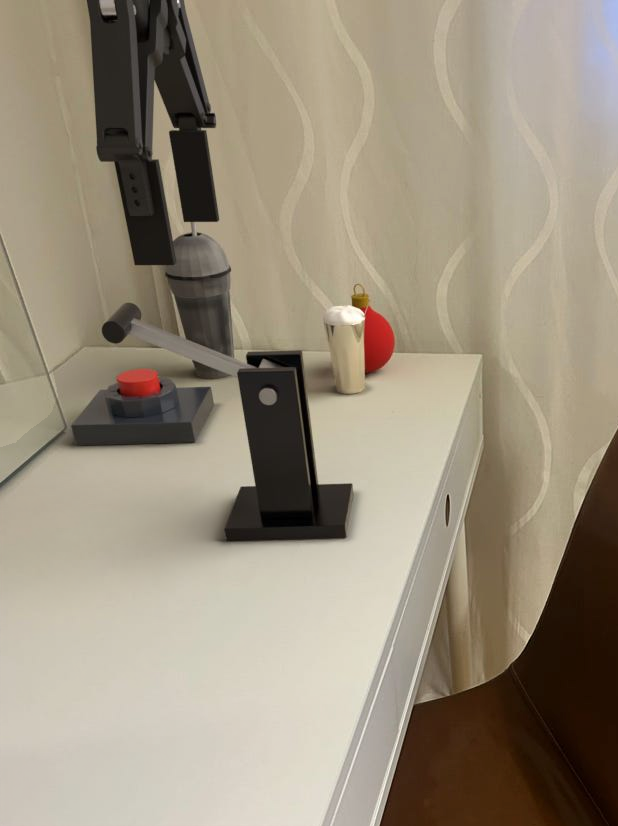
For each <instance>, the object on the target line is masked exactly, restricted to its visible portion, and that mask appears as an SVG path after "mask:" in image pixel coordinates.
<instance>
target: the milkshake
mask: <svg viewBox="0 0 618 826" xmlns="http://www.w3.org/2000/svg"><path fill="white" fill-rule="evenodd" d="M370 303H371V299H370V298H369V302H368V305H367V308H366V311H365V314H364V313H363V312H362V311H361V310H360V309H358V308H356V307H353V306H352V305H350V304H347V305H334V306H331V307H329V308H328V309H327V310H326V311H325V312H324V314H323V316H322V321H323V327H324V332H325V336H326V341H327V345H328V349H329V352H330V354H329V355H330V360H331V365H332V370H333V376H334V382H335V387H336V391H337V392H338V393H341V394H345V395H346V394H348V395H353V394H358V393H361V392H363V391H364V390H365V389H366V375H365V374H366V373H365V358H364V344H365V315H366V312H367V309H368V306H370Z"/></svg>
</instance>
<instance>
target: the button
mask: <svg viewBox="0 0 618 826" xmlns="http://www.w3.org/2000/svg"><path fill="white" fill-rule="evenodd" d="M158 377H159V374H158V372H157V371H156V370H154V369H149V368H138V369H137V368H136V369H131V370H126V371H124V372H122V373H119V374H118V375H117V377H116V381H117V383H118V386H119V390H120V394H121V395H123V396H128V397H135V396H144V395H149V394H153V393H155V392H158V391H160V390H161V388H160V383H159V379H158Z"/></svg>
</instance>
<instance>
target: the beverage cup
mask: <svg viewBox="0 0 618 826" xmlns="http://www.w3.org/2000/svg"><path fill="white" fill-rule="evenodd" d="M190 229H191V231H189V232H185V233H182V234H180V235H179V236H177V237H176V238H174V239H173V244H174V250H175V256H176V261H177V263H176V264H175V265H164V267H165V268H164V269H165V272H164V277H166V278H167V282H168V286H169V289H170V291H171V293H172V294H173V297H174V300H175V305H176V308H177V311H178V315H179V319H180V322H181V326H182V329H183V333H184V337H185V339H187V340H189V341H192V342H194V343H197V344H199V345H202V346H204V347H207V348H209V349H212V350H214V351H217V352H219V353H222V354H224V355H227V356H229V357H232V358H234V359H235V348H234V347H235V345H234V334H233V331H234V330H233V321H232V319H233V318H232V305H231V292H230V290H231V272H232V268H231V265H230V264H229V263H230V262H229V259H228V257H227V254H226V252H225V250H224V248H223V247H222V246H221V244H219V242H218V241H216V240H215V239H214V237H213V238H212V237H211V236H210V235H208V234H206V233H203V232H199V231H197V226H196V222H190ZM191 362H192V363H193V367H194V369H195V374H196V376H197V377H199V378H202V379H209V380H210V379H211V380H214V379H221V378H226V377H229V376H230V375H229V374H227V373H224V372H222V371H219V370H217V369H214V368H212V367H209V366H207V365H204V364H202V363H199V362H197V361H194V360H192V359H191Z"/></svg>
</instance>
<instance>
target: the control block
mask: <svg viewBox="0 0 618 826" xmlns="http://www.w3.org/2000/svg"><path fill="white" fill-rule="evenodd" d="M158 379H159V383H160V388H161V390H160V391H158V392H155V393H153V394H149V395H144V396H135V397H128V396H123V395H121V394H120V390H119V386H118V382H115V383H113V384H110V385H109V386H108V387H107V388H106V389H99V390H98V391H97V393H96V394H95V395H94V396H93V398H92V399H91V400H90V401H89V403H88V404H87V405H86V406H85V407H84V409H83V410H82V411H81V412H80V414H79V415H78V416H77V417H76V418H75V420H74V421H73V422H72V423H71V424H70V427H71V431H72V436H73V438H74V442H75V445H76V446H77V447H78V446H107V445H108V446H110V445H111V446H112V445H144V444H145V445H146V444H179V443H180V444H182V443H185V444H186V443H188V444H189V443H196V441H197V440H198V438H199V436H200V434H201V432H202V430H203V429H204V426H205V424H206V422H207V421H208V420H209V417H210V415H211V413H212V412H213V409H214V407H215V402H214V396H213V390H212V387H211V386H191V387H190V386H189V387H187V386H186V387H185V386H184V387H177V385H176V384H175V382H173V380H171V379H170V378H164V377H159V376H158Z"/></svg>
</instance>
